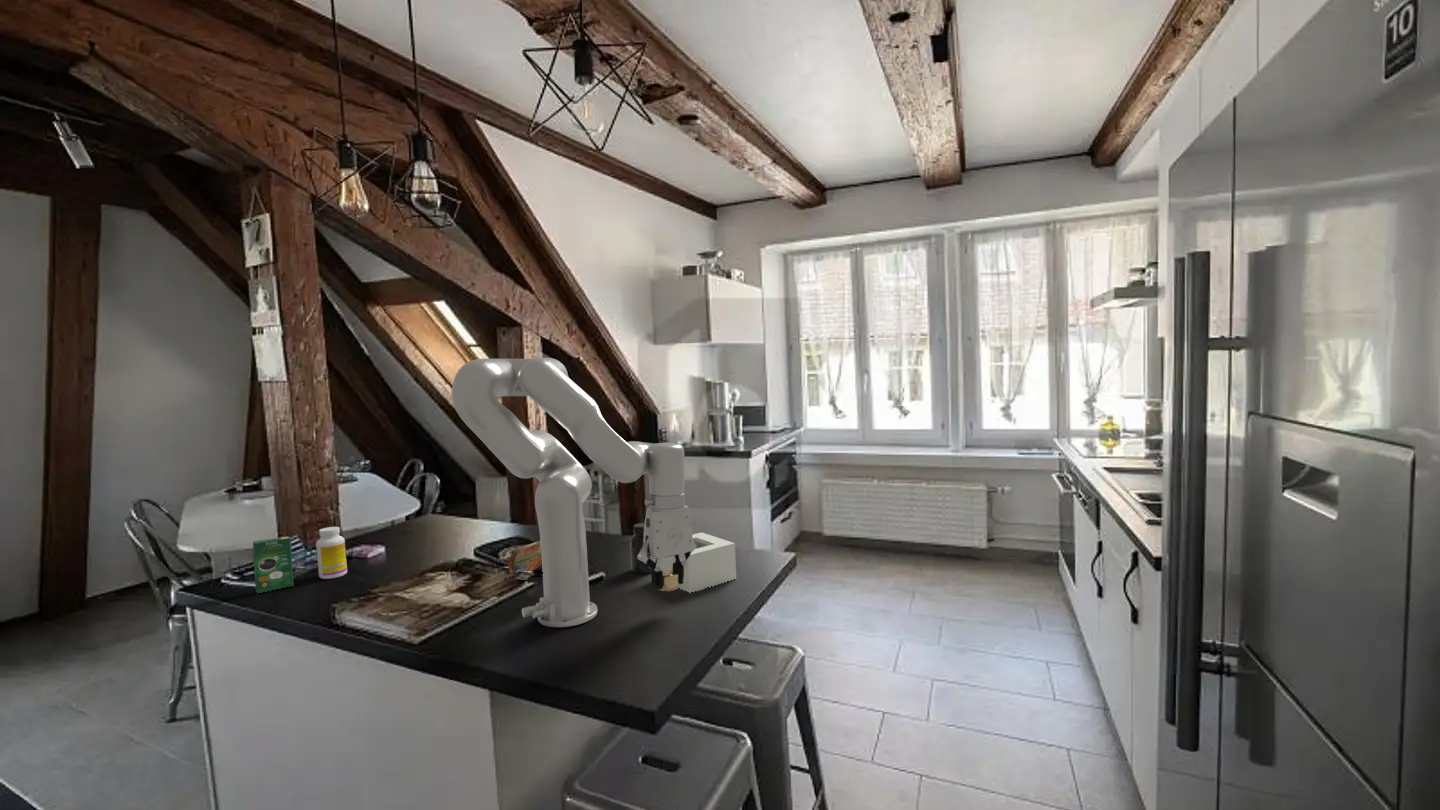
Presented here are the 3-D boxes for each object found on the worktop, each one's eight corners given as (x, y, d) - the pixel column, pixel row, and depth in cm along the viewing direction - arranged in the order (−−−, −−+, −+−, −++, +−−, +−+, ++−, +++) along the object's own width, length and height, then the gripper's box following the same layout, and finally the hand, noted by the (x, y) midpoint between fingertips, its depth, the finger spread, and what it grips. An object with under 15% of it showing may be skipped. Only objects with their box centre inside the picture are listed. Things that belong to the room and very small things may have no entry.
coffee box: (293, 584, 169) (289, 534, 168) (295, 586, 166) (290, 536, 165) (255, 592, 164) (251, 541, 163) (256, 595, 161) (252, 543, 160)
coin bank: (689, 593, 150) (687, 555, 150) (657, 578, 161) (655, 543, 161) (736, 579, 159) (734, 543, 158) (703, 566, 170) (701, 532, 169)
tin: (515, 585, 161) (513, 552, 160) (507, 583, 162) (505, 550, 162) (560, 567, 173) (558, 536, 173) (552, 566, 175) (550, 535, 175)
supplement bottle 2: (656, 574, 165) (653, 528, 164) (629, 575, 165) (627, 528, 164) (659, 565, 172) (657, 521, 171) (633, 566, 172) (631, 522, 171)
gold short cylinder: (664, 592, 136) (664, 578, 135) (653, 586, 139) (652, 573, 139) (682, 587, 138) (682, 574, 138) (670, 582, 142) (670, 568, 142)
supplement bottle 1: (352, 573, 175) (348, 527, 174) (326, 581, 170) (322, 533, 169) (339, 570, 179) (335, 524, 178) (314, 577, 173) (309, 530, 172)
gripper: (641, 510, 129) (642, 599, 131) (709, 498, 140) (709, 581, 141) (623, 503, 135) (624, 588, 137) (689, 493, 146) (690, 572, 147)
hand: (667, 584), depth 139 cm, fingers closed on gold short cylinder, 4 cm apart
